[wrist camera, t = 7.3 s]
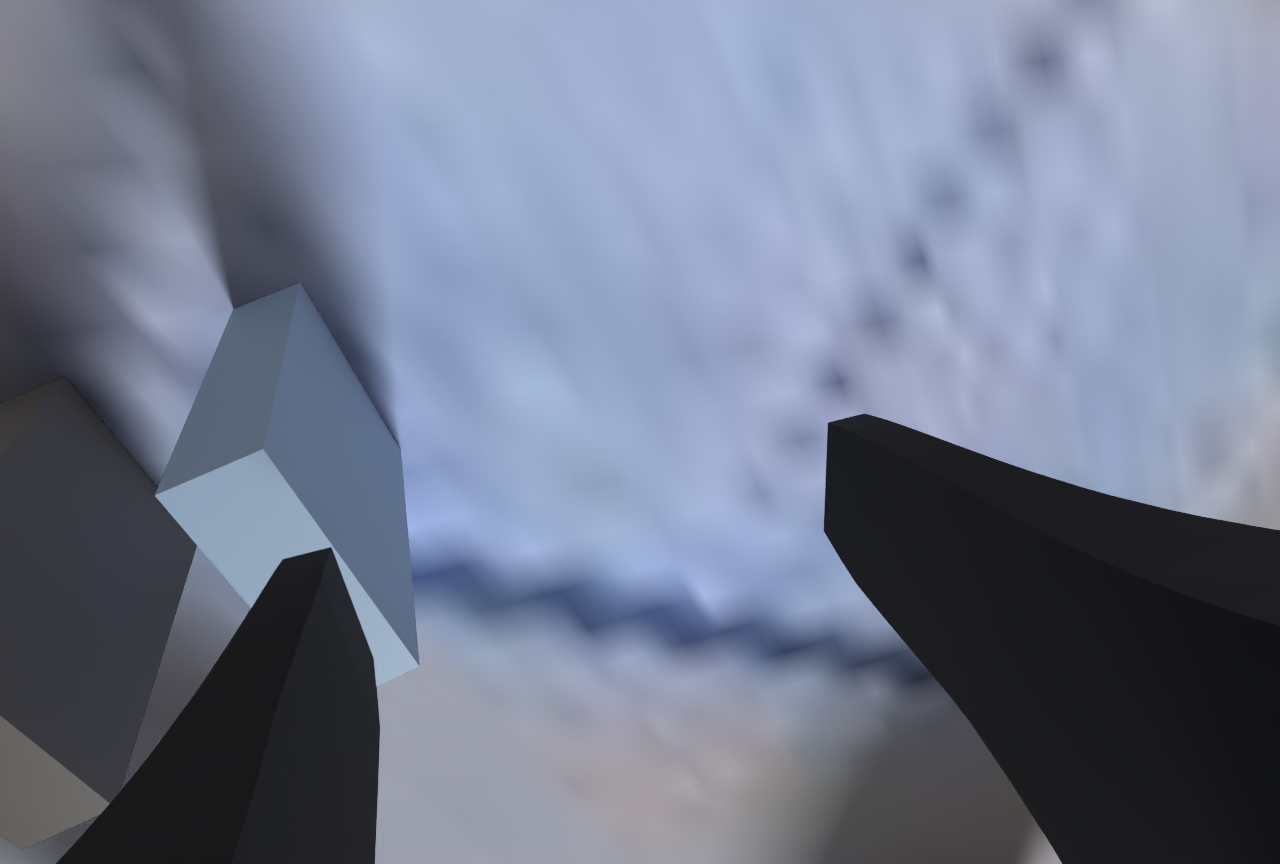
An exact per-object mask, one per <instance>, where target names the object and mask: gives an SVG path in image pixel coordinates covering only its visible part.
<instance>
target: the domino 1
mask: <svg viewBox="0 0 1280 864" xmlns="http://www.w3.org/2000/svg"><path fill="white" fill-rule="evenodd" d="M157 489H158V487H157V486H156V485H155V484H154V482H153V481H152V480H151V479H150V478H149V476H148V475H147V474H146V473H145V472H144V470H143V469H142V468H141V467H140V466H139V464H138V463H137V462H136V461H135V460H134V458H133V457H132V456H131V455H130V454H129V452H128V451H127V450H126V449H125V448H124V446H123V445H122V444H121V443H120V442H119V440H118V439H117V438H116V437H115V436H114V434H113V433H112V432H111V431H110V430H109V428H108V427H107V426H106V425H105V424H104V422H103V421H102V420H101V419H100V418H99V417H98V415H97V414H96V413H95V412H94V411H93V409H92V408H91V407H90V406H89V405H88V403H87V402H86V401H85V400H84V399H83V397H82V396H81V395H80V394H79V393H78V391H77V390H76V389H75V388H74V387H73V385H72V384H71V383H70V382H69V381H68V379H67V378H66V377H63V378H60V379H58V380H55V381H53V382H50V383H48V384H45V385H43V386H40V387H38V388H35V389H33V390H30V391H28V392H25V393H23V394H20V395H18V396H15V397H13V398H10V399H8V400H5V401H3V402H0V835H1V836H3V837H4V838H5V839H7V840H8V841H10V842H11V843H13V844H14V845H16V846H17V847H18V848H20V849H21V850H24V849H26V848H28V847H30V846H33V845H35V844H37V843H39V842H41V841H43V840H46V839H48V838H50V837H52V836H54V835H57V834H59V833H61V832H63V831H65V830H67V829H70V828H72V827H74V826H76V825H78V824H80V823H83V822H85V821H87V820H89V819H91V818H93V817H96V816H98V815H100V814H101V813H102V812H103V811H104V810H105V809H106V807H107V806H108V805H109V804H110V803H111V802H112V801H113V799H114V798H115V797H116V796H117V795H118V794H119V792H120V790H121V787H122V784H123V780H124V777H125V774H126V771H127V768H128V764H129V761H130V758H131V755H132V752H133V748H134V745H135V742H136V739H137V736H138V732H139V729H140V726H141V723H142V720H143V716H144V713H145V710H146V707H147V704H148V700H149V697H150V694H151V691H152V687H153V684H154V681H155V678H156V675H157V671H158V668H159V665H160V662H161V659H162V655H163V652H164V649H165V646H166V643H167V639H168V636H169V633H170V630H171V627H172V623H173V620H174V617H175V614H176V611H177V607H178V604H179V601H180V598H181V594H182V591H183V588H184V585H185V582H186V578H187V575H188V572H189V569H190V566H191V562H192V559H193V556H194V553H195V550H196V546H197V545H196V543H195V542H194V541H193V540H192V539H191V538H190V536H189V535H188V534H187V533H186V532H185V531H184V529H183V528H182V527H181V526H180V525H179V523H178V522H177V521H176V520H175V519H174V518H173V516H172V515H171V514H170V513H169V512H168V511H167V509H166V508H165V507H164V506H163V505H162V504H161V502H160V501H159V500H158V499H157V498H156V497H155V493H156V491H157Z"/></svg>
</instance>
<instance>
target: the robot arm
mask: <svg viewBox="0 0 1280 864" xmlns="http://www.w3.org/2000/svg"><path fill="white" fill-rule="evenodd" d="M824 532H825V534H826V535H827V537H828V539H829V540H830V542H831V544H832V545H833V547H834V549H835V550H836V552H837V554H838V555H839V557H840V559H841V560H842V562H843V564H844V565H845V567H846V568H847V570H848V571H849V573H850V574H851V576H852V578H853V579H854V581H855V582H856V584H857V585H858V586H859V587H860V589H861V590H862V591H863V592H864V594H865V595H866V596H867V597H868V599H869V600H870V601H871V602H872V603H873V605H874V606H875V607H876V608H877V610H878V611H879V612H880V613H881V614H882V616H883V617H884V618H885V619H886V620H887V622H888V623H889V624H890V625H891V626H892V628H893V629H894V630H895V631H896V632H897V634H898V635H899V636H900V637H901V638H902V639H903V641H904V642H905V643H906V644H907V645H908V647H909V648H910V649H911V650H912V651H913V653H914V654H915V655H916V656H917V657H918V659H919V660H920V661H921V662H922V663H923V664H924V666H925V667H926V668H927V669H928V670H929V672H930V673H931V674H932V675H933V676H934V678H935V679H936V680H937V681H938V682H939V683H940V685H941V686H942V687H943V688H944V689H945V691H946V692H947V693H948V694H949V695H950V697H951V698H952V699H953V701H954V702H955V703H956V704H957V706H958V707H959V708H960V710H961V711H962V712H963V713H964V715H965V716H966V717H967V719H968V720H969V721H970V723H971V724H972V725H973V727H974V728H975V730H976V731H977V733H978V734H979V736H980V737H981V739H982V740H983V742H984V743H985V745H986V746H987V748H988V749H989V750H990V752H991V753H992V755H993V756H994V758H995V759H996V761H997V762H998V764H999V765H1000V767H1001V768H1002V770H1003V771H1004V773H1005V774H1006V775H1007V777H1008V778H1009V780H1010V781H1011V783H1012V784H1013V786H1014V788H1015V789H1016V791H1017V792H1018V794H1019V795H1020V797H1021V799H1022V800H1023V802H1024V803H1025V805H1026V806H1027V808H1028V809H1029V811H1030V813H1031V814H1032V816H1033V817H1034V819H1035V820H1036V822H1037V824H1038V825H1039V827H1040V828H1041V830H1042V831H1043V833H1044V834H1045V836H1046V838H1047V839H1048V841H1049V842H1050V844H1051V845H1052V847H1053V849H1054V850H1055V852H1056V854H1057V855H1058V857H1059V859H1060V860H1061V862H1062V864H1280V530H1274V529H1267V528H1261V527H1256V526H1250V525H1245V524H1239V523H1234V522H1228V521H1223V520H1217V519H1212V518H1206V517H1201V516H1196V515H1191V514H1187V513H1182V512H1177V511H1172V510H1168V509H1164V508H1160V507H1156V506H1152V505H1147V504H1143V503H1139V502H1135V501H1131V500H1127V499H1123V498H1119V497H1115V496H1111V495H1107V494H1104V493H1100V492H1096V491H1093V490H1089V489H1086V488H1082V487H1079V486H1076V485H1073V484H1069V483H1066V482H1063V481H1060V480H1056V479H1053V478H1050V477H1047V476H1044V475H1040V474H1037V473H1034V472H1031V471H1028V470H1025V469H1022V468H1019V467H1016V466H1013V465H1010V464H1008V463H1005V462H1002V461H999V460H996V459H993V458H990V457H988V456H985V455H982V454H979V453H977V452H974V451H971V450H968V449H966V448H963V447H960V446H957V445H955V444H952V443H949V442H947V441H944V440H941V439H939V438H936V437H933V436H930V435H928V434H925V433H922V432H920V431H917V430H914V429H911V428H908V427H906V426H903V425H900V424H897V423H894V422H891V421H888V420H885V419H882V418H878V417H875V416H871V415H868V414H861V415H857V416H853V417H849V418H845V419H841V420H837V421H833V422H829V423H828V438H827V463H826V489H825V515H824ZM379 738H380V723H379V711H378V699H377V688H376V678H375V668H374V658H373V655H372V653H371V650H370V647H369V645H368V642H367V640H366V637H365V634H364V632H363V629H362V626H361V624H360V621H359V618H358V616H357V613H356V611H355V608H354V605H353V603H352V600H351V597H350V595H349V592H348V590H347V587H346V584H345V582H344V579H343V576H342V574H341V571H340V568H339V566H338V563H337V561H336V558H335V555H334V553H333V550H332V547H329V548H325V549H321V550H317V551H313V552H309V553H305V554H301V555H297V556H293V557H289V558H285V559H282V561H281V562H280V564H279V565H278V567H277V568H276V570H275V571H274V573H273V574H272V576H271V577H270V579H269V580H268V582H267V584H266V585H265V587H264V588H263V590H262V592H261V593H260V595H259V596H258V598H257V600H256V601H255V603H254V604H253V606H252V608H251V609H250V611H249V613H248V614H247V616H246V617H245V619H244V620H243V622H242V624H241V625H240V627H239V628H238V630H237V631H236V633H235V635H234V636H233V638H232V639H231V641H230V642H229V644H228V645H227V647H226V648H225V650H224V651H223V653H222V654H221V656H220V657H219V659H218V660H217V662H216V663H215V665H214V666H213V668H212V669H211V671H210V672H209V674H208V675H207V677H206V678H205V680H204V681H203V683H202V684H201V686H200V687H199V689H198V690H197V692H196V693H195V695H194V696H193V697H192V699H191V700H190V702H189V703H188V704H187V706H186V707H185V708H184V710H183V711H182V712H181V714H180V715H179V716H178V718H177V719H176V721H175V722H174V723H173V725H172V726H171V727H170V729H169V730H168V731H167V733H166V734H165V735H164V737H163V738H162V740H161V741H160V742H159V744H158V745H157V746H156V748H155V749H154V750H153V752H152V753H151V754H150V756H149V757H148V758H147V759H146V761H145V762H144V763H143V764H142V766H141V767H140V768H139V769H138V771H137V772H136V773H135V774H134V775H133V777H132V778H131V779H130V780H129V782H128V783H127V784H126V785H125V786H124V788H123V789H122V790H121V791H120V792H119V794H118V795H117V796H116V797H115V798H114V799H113V801H112V802H111V803H110V804H109V805H108V806H107V807H106V809H105V810H104V811H103V812H102V813H101V814H100V815H99V817H98V818H97V819H96V820H95V821H94V822H93V824H92V825H91V826H90V827H89V828H88V829H87V830H86V832H85V833H84V834H83V835H82V836H81V837H80V838H79V839H78V841H77V842H76V843H75V844H74V845H73V846H72V847H71V848H70V849H69V850H68V852H67V853H66V854H65V855H64V856H63V857H62V858H61V859H60V860H59V861H58V862H57V863H56V864H375V843H376V819H377V795H378V768H379Z"/></svg>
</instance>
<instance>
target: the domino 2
mask: <svg viewBox="0 0 1280 864" xmlns="http://www.w3.org/2000/svg"><path fill="white" fill-rule="evenodd" d="M155 497H156V498H157V499H158V500H159V501H160V502H161V504H162V505H163V506H164V507H165V508H166V509H167V511H168V512H169V513H170V514H171V515H172V516H173V518H174V519H175V520H176V521H177V522H178V523H179V525H180V526H181V527H182V528H183V529H184V531H185V532H186V533H187V534H188V535H189V536H190V538H191V539H192V540H193V541H194V542H195V543H196V545H197V546H198V547H199V548H200V549H201V550H202V552H203V553H204V554H205V555H206V556H207V557H208V559H209V560H210V561H211V562H212V563H213V564H214V566H215V567H216V568H217V569H218V570H219V572H220V573H221V574H222V575H223V576H224V577H225V579H226V580H227V581H228V582H229V583H230V584H231V586H232V587H233V588H234V589H235V590H236V591H237V593H238V594H239V595H240V596H241V597H242V598H243V600H244V601H245V602H246V603H247V604H248V605H249V607H250V608H252V606H253V604H254V603H255V601H256V600H257V598H258V596H259V595H260V593H261V592H262V590H263V588H264V587H265V585H266V584H267V582H268V580H269V579H270V577H271V576H272V574H273V573H274V571H275V570H276V568H277V567H278V565H279V564H280V562H281V561H282V559H285V558H289V557H293V556H297V555H301V554H305V553H309V552H313V551H317V550H321V549H325V548H329V547H332V550H333V553H334V555H335V558H336V561H337V563H338V566H339V568H340V571H341V574H342V576H343V579H344V582H345V584H346V587H347V590H348V592H349V595H350V597H351V600H352V603H353V605H354V608H355V611H356V613H357V616H358V618H359V621H360V624H361V626H362V629H363V632H364V634H365V637H366V640H367V642H368V645H369V647H370V650H371V653H372V655H373V658H374V668H375V678H376V687H377V686H379V685H381V684H383V683H385V682H387V681H389V680H392V679H394V678H396V677H398V676H400V675H402V674H404V673H407V672H409V671H411V670H413V669H415V668H417V667H419V655H418V643H417V632H416V620H415V609H414V597H413V586H412V574H411V563H410V551H409V540H408V528H407V517H406V505H405V494H404V482H403V470H402V459H401V450H400V448H399V447H398V445H397V443H396V442H395V440H394V438H393V437H392V435H391V433H390V431H389V430H388V428H387V426H386V425H385V423H384V421H383V420H382V418H381V416H380V415H379V413H378V411H377V410H376V408H375V406H374V405H373V403H372V401H371V400H370V398H369V396H368V395H367V393H366V391H365V390H364V388H363V386H362V384H361V383H360V381H359V379H358V378H357V376H356V374H355V373H354V371H353V369H352V368H351V366H350V364H349V363H348V361H347V359H346V358H345V356H344V354H343V353H342V351H341V349H340V348H339V346H338V344H337V343H336V341H335V339H334V337H333V336H332V334H331V332H330V331H329V329H328V327H327V326H326V324H325V322H324V321H323V319H322V317H321V316H320V314H319V312H318V311H317V309H316V307H315V306H314V304H313V302H312V301H311V299H310V297H309V296H308V294H307V292H306V290H305V289H304V287H303V285H302V284H301V282H299V283H296V284H294V285H291V286H289V287H286V288H284V289H282V290H279V291H277V292H274V293H272V294H269V295H267V296H264V297H262V298H259V299H257V300H255V301H252V302H250V303H247V304H245V305H242V306H240V307H237V308H235V309H233V311H232V314H231V316H230V318H229V321H228V323H227V326H226V328H225V330H224V333H223V335H222V337H221V340H220V342H219V344H218V347H217V349H216V352H215V354H214V356H213V359H212V361H211V363H210V366H209V368H208V370H207V373H206V375H205V378H204V380H203V382H202V385H201V387H200V389H199V392H198V394H197V396H196V399H195V401H194V404H193V406H192V408H191V411H190V413H189V415H188V418H187V420H186V422H185V425H184V427H183V430H182V432H181V434H180V437H179V439H178V441H177V444H176V446H175V448H174V451H173V453H172V456H171V458H170V460H169V463H168V465H167V467H166V470H165V472H164V474H163V477H162V479H161V482H160V484H159V486H158V489H157V491H156V493H155Z"/></svg>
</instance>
